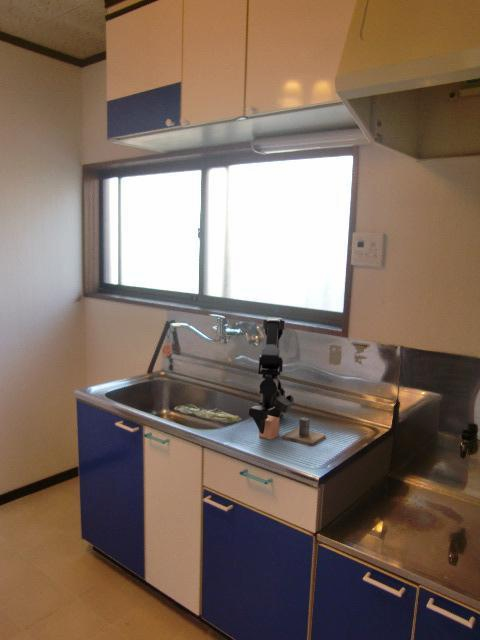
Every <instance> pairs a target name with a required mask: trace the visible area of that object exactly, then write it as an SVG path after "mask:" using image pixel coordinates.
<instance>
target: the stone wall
mask: <svg viewBox="0 0 480 640" xmlns="http://www.w3.org/2000/svg"><path fill="white" fill-rule="evenodd" d="M173 409H174V411H179V412H180V413H182V414H194V415H195V416H197V417H200V418H205V419H208V420H212V421H218V422H222V423H226V424H230V423H231V424H233V423H235V422H240V421H241V420H242V418H241V417H240V416H239V415H233V414H230V413H228V412H225V411H223V410H221V409H219V408H218V407H217V408H212V409H206V408H203V407H197V406H196V405H194V404H191V403H186V404H183V405H181V404H180V405H177V406H175V407H174V408H173Z"/></svg>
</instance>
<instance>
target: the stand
mask: <svg viewBox="0 0 480 640" xmlns="http://www.w3.org/2000/svg"><path fill="white" fill-rule="evenodd" d="M298 420H299V425H298V427H295V428H293V429H291V430H290V431H288V432H286V433H285V434H283V435H282V436H281V437H282V439H285V440H286V441H287V440H288V441H292V442H295V443H299V444H303V445H308V446H312V447H313V446H315V445H316V444H318V443H320V442H321V441H323V440H325V439H326V438H327V437H326V436H327V435H326V434H324V433H321V432H317V431H314V430H313V431H312V430H310V421H311V420H310V418H308V417H304V416H302V417H300V418H299V419H298Z"/></svg>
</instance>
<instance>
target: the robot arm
mask: <svg viewBox="0 0 480 640" xmlns="http://www.w3.org/2000/svg"><path fill="white" fill-rule="evenodd" d="M262 322H263V323H262V325H263V326H262V330H264V334H265V336H266V341H265V347H263V349H261V354H260V355H259V358H258V359H259V360H258V375H261V381H260V385H259V394H260V395H261V400H260V401H259V402H258V405H253V406H251V407H250V408H249V409H248V410H247V411H248V416H249V417H250V418H252V420H253V421H254V423H255V425H256V427H257V430H258V432H259V431H260V433H261V434H263V433H264V428H265V420H266V419H267V418H268V415H270V416H274V417H278V418H279V421H280V419H281V416H284V414H285V413H287V412H289V411H291V408H292V406H294V405H295V403H294V402H295V399H294V396H293V395H291V394H289V395H287V396H286V390H285V389H284V387H283V383H282V381H281V379H280V377H279V376H281V375H282V374H281V373H283V367H284V365H283V363H284V359H283V358H282V356H280V339H281V337H282V336H283V334H284V330H286V320H283V317H267V318H266V319H263V320H262ZM260 405H261V406H260Z"/></svg>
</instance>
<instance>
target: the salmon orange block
mask: <svg viewBox="0 0 480 640" xmlns="http://www.w3.org/2000/svg"><path fill="white" fill-rule="evenodd" d="M279 435H280V420H279V418H278V417H274V416H270V415H268V418H267V419H266V420H265V428H264V433H263V434H261V433H260V431H259V430H258V437H259V438H260V437H261V438H263V439H267V440H273V439H275V438H277V437H278V436H279Z"/></svg>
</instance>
